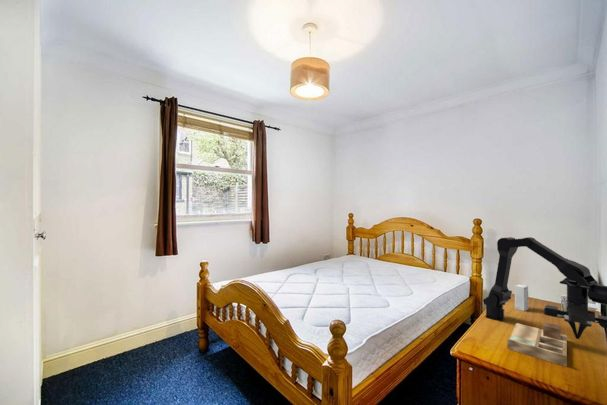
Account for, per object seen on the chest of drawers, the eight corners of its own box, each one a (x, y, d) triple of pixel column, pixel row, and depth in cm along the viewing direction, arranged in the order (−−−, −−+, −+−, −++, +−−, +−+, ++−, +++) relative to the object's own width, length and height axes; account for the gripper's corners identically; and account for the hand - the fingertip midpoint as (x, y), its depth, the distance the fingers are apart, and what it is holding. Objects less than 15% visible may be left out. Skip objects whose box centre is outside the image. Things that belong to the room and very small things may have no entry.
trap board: (507, 348, 101) (507, 339, 101) (516, 327, 119) (516, 319, 119) (566, 366, 90) (566, 356, 90) (566, 340, 108) (566, 331, 108)
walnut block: (543, 335, 108) (543, 325, 108) (543, 331, 111) (543, 321, 111) (560, 340, 104) (560, 329, 104) (560, 335, 108) (560, 325, 108)
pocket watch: (542, 312, 136) (542, 292, 136) (557, 311, 137) (557, 292, 137) (559, 319, 128) (558, 298, 128) (574, 318, 129) (574, 297, 129)
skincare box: (524, 311, 137) (524, 287, 138) (514, 308, 141) (514, 285, 141) (529, 308, 141) (529, 285, 141) (518, 306, 145) (518, 283, 145)
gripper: (543, 297, 104) (543, 337, 103) (617, 310, 90) (617, 356, 90) (545, 290, 111) (545, 328, 111) (613, 302, 98) (613, 344, 98)
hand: (577, 338), depth 103 cm, fingers closed
